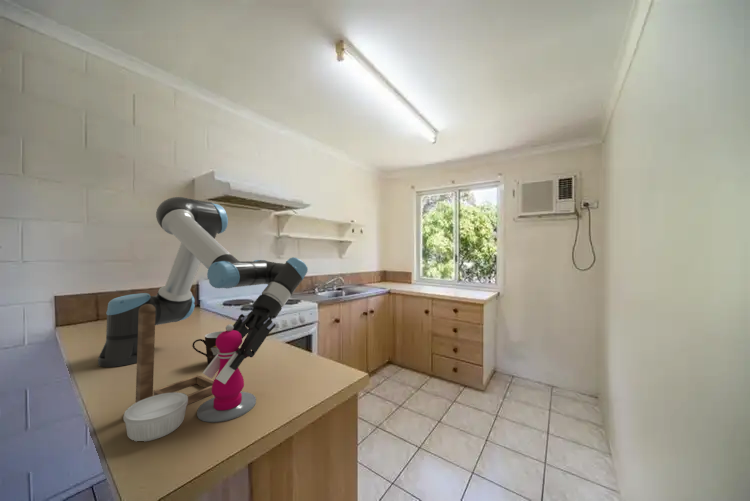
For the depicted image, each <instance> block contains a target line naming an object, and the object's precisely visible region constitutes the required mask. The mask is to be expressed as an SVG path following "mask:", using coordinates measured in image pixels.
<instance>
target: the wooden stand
mask: <svg viewBox="0 0 750 501" xmlns="http://www.w3.org/2000/svg"><path fill="white" fill-rule="evenodd" d="M155 310H156V309H155V307H154V306H153V305H151V304H145V305H143V306H141V307H140V308H139V316H138V346H137V363H136V375H135V376H136V379H135V382H136V383H135V403H137V402H138V401H141V400H143V399H146V398H149V397H152V396H155V395H159V394H164V393H172V392H179V391H180V390H183V389H186V388H188V387H191V386H194V385H198V386H201V387H203V388H202V389H200V390H197V391H195V392H193V393H190V394H186V395H187V396H188V403H187V405H186V406H188V405H190V404H192V403H195V402H197V401H199V400H202V399H205V398H207V397H209V396H212V395H213V394H212V385H213V382H214V380H211V379H209V378H207V377H204V376H202V375H198V374H197V375H194V376H191V377H189V378H188V377H187V378H185V379H181V380H180V381H176V382H174V383H173V382H172V383H171V384H168V385H166V386H162V387H159V388H156V389H154V376H155V375H154V369H155V368H154V367H155V340H156V338H155V337H156V336H155V334H156V325H155Z"/></svg>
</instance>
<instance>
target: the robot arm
mask: <svg viewBox="0 0 750 501" xmlns="http://www.w3.org/2000/svg"><path fill="white" fill-rule="evenodd" d="M228 217H229V216H228V214H227V212H226V209H225V208H224V207H223V206H222V205H220V204H216V203H214V202H210V201H204V200H199V199H195V198H194V199H193V198H188V197H185V196H184V197H183V196H173V197H170V198H167V199H166V200H164V201H162V202H161V203H160V204H159V205H158V207H157V209H156V213H155V218H156V222H157V223H158V225H159V226H160V227H161V228H162V230H163V231H164V232H166V233H167V234H169V235H173V236H174V237H175V238H176V239H177V240H178V241H179V242H180V245H179V248H178V250H177V253H176V255H175V258H174V261H173V264H172V266H171V268H170V272H169V274H168V277H167V280H166V283H165V285H163V286H160V287H159V289H158V291H157V293H156V295H152V296H151V294H150V293H147V292H144V293H143V292H141V293H132V294H126V295H123V296H122V295H121V296H118V297H115V298H112V299H111V300H110V301H109V302H108V303H107V310H106V313H105V314H106V331H105V332H106V333H105V335H106V338H105V343H104V345H103V347H102V349H101V352H100V354H99V356H98V359H97V360H98V361H97V363H98V366H99V367H101V368H102V367H103V368H108V367H109V368H113V367H122V366H128V365H133V364H137V346H138V316H139V308H140V307H141V306H143V305H145V304H151V305H153V306H154V307H155V309H156V310H155V326H159V325H166V324H170V323H177V322H180V321H184V320H186V319H189V317H191V316H192V314H193V312H194V310H195V306H196V304H195V301H196V299H195V297H194V295H193V292H192V291H191V289H192V287H193V284H194V280H195V278H196V276H197V274H198V271H199V268H200V265H201V264H202V265H203V266H204V267H205V268H207V273H206V276H207V279H208V280H209V281H208V283H209V284H210V286H212V287H213V288H215V289H233V288H241V287H248V286H249V287H250V286H260V285H267V286H266V287H265V288H264V289H263V290H262V292H261V294H260V295H259V296H258V297H257V298H256V299H255V300H254V302H253V303H252V307H253V308H252V310H251V311H249V313H248V314H247V315H244V314H243V313H241V314H240V315H239V316H238V318H237V320H236V321H235V322H234V324H232V325H233V327H234V328H233V330H236V331H238V332H240V333H241V335H242V340H243V341H242V344H241V345H240V346H239V348H240V349H239V350H236V353H238V354H236V353H234V354H233V355H232V357H231V358H230V359H229V361H228V362H227V363H226V365H225V366H224V367H223V369H222V370H221V371H220V373H219V374H218V371H219V368H220V358H218V353H217V354H216V356H215V357H214V358H213V360H212V361H211V363H210V364H209V365H208V364H207V366H206V367H205V369H204V370H203V371H202V374H203V375H205V376H207V377H208V379H209V378H210V380H211V379H213V377H214V376H215V375H216V376H217V374H218V376H217V377H216V376H215V377H214V380H215V379H217V380H219V381H220V382H222V383H223V384H226V382H227V381H228V379H229V378H230V377H231V375H232V374H233V372H234V371H235V370H236V369H237V368H239V367H240V365H241V364H242V362H243V361H244V360H245V359H247V358H254V356H255V354H256V353H257V352H258V350H259V349H260V348H261V346H262V344H263V343H264V342H265V340H266V338H267V337H268V335H269V334H270V333H271V332H272V331H273V330H274V328H276V326H277V324H276V323H275V322H274V321H273V320H274V319H276V318H277V317H278V315H279V314H280V313H281V311H282V309H283V308H284V306H285V305H286V304H287V302H288V301H289V299H290V298H291V297H292V295H293V294H294V292H295V291H296V289H297V288H298V287H299V285H300V284H301V283H302V282H303V280H304V278H305V276H306V275H307V273H308V272H309V271H308V265H307V264H306V262H304V261H303V260H302V259H300V258H297V257H290V258H289V259H287V260H286V261H285V263H283V262H275V261H274V262H273V261H268V260H264V259H255V260H253V261H252V260H251V261H249V260H248V261H247V260H246V261H240V260H238V259H237V258H236V257H235V256H234V255H233V254H232V253H231V252H229V251H228V249H227V248H225V247H224V246H223V245H222V244H221V243H220V242H218V240H217V239H216V237H217V234H223V233H224V232H225V231H226V229H227V227H228V223H229V218H228Z"/></svg>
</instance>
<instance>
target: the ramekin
mask: <svg viewBox="0 0 750 501" xmlns="http://www.w3.org/2000/svg"><path fill="white" fill-rule="evenodd" d="M187 395H188V394H186V393H184V392H179V391H175V392H172V393H164V394H159V395H155V396H152V397H149V398H146V399H143V400H141V401H138V402H137V403H136V402H135V403H133V404H132V405H131V406H129V407H128V408H126V410H125V411H124V413H123V418H122V419H123V422H124V424H125V429H126V435H127V437H128V438H129V439H130V440H131V441H133V440H134V441H133V442H137V441H144V442H150V441H154V440H158V439H159V438H160V439H161V438H163V437H165V436H167V435H169V434H171V433H173V432H174V431H176V429H178V428H179V427H180V426H181V425H182V423H183V422H184V419H185V415H186V410H187V406H188V405H187V403H188V396H187Z"/></svg>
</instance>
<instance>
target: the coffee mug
mask: <svg viewBox="0 0 750 501" xmlns="http://www.w3.org/2000/svg"><path fill="white" fill-rule="evenodd" d="M224 331H225V330H221V331H213V332H209V333H207V334H204V339H203V338H199V339H195V340H194V341H193V343H192V345H191V346H192V349H193V350H194V351H195V352H197V353H199V354H201V355H204V356H205V357H206V360H207V366H208V365H209V364H210V363H211V361H212V360H213V358H214V357H215V356H216V354H217V353H218V351H219V349H218V348H217V347H216V339H217V337H218V335H219V334H220V333H222V332H224ZM197 342H203V344H204V345H205V350H206V351H205V352H206V353H205V352H203V351H201V350H198V349H197V348H196V347H195V344H196V343H197Z"/></svg>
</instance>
